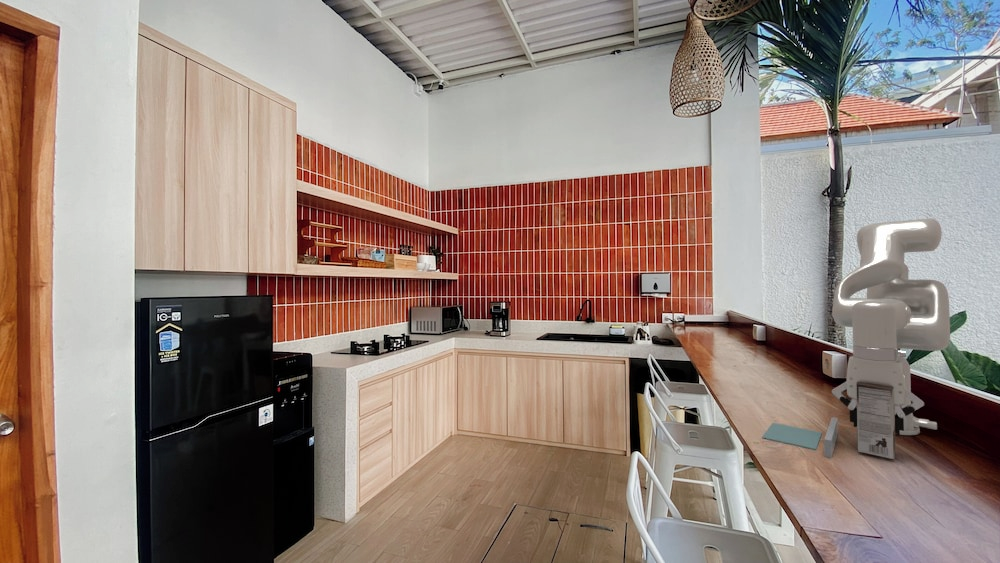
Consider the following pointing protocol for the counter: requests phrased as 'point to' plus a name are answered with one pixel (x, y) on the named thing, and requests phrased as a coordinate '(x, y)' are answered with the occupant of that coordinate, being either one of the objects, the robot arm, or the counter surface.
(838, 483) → the counter surface
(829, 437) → the low wall
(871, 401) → the coffee box
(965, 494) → the counter surface
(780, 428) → the mat
